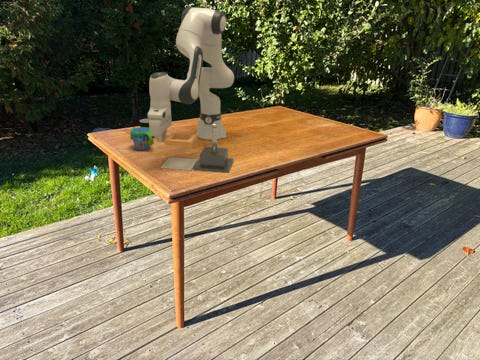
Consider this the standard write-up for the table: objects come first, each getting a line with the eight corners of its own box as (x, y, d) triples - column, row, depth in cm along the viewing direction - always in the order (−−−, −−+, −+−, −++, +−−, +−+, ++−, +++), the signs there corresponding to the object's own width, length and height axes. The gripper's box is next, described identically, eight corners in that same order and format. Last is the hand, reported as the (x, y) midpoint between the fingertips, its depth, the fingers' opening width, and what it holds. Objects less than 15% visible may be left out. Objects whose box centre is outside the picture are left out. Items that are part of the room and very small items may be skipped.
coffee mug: (158, 136, 214) (157, 119, 210) (153, 140, 207) (152, 123, 203) (138, 135, 215) (137, 118, 211) (133, 139, 207) (132, 121, 204)
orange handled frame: (162, 137, 176) (162, 132, 175) (197, 139, 175) (197, 134, 174) (153, 144, 165) (153, 139, 164) (191, 147, 164) (191, 141, 163)
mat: (169, 158, 181) (169, 157, 181) (197, 160, 180) (197, 159, 180) (160, 168, 168) (160, 167, 168) (190, 170, 167) (190, 169, 167)
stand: (201, 158, 182) (201, 118, 175) (233, 160, 181) (234, 120, 173) (193, 170, 168) (192, 127, 160) (228, 172, 166) (229, 129, 158)
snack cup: (125, 147, 194) (123, 128, 190) (142, 143, 201) (141, 124, 197) (142, 154, 185) (140, 134, 181) (159, 150, 192) (158, 131, 188)
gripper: (161, 105, 175) (162, 133, 180) (145, 115, 156) (148, 146, 162) (174, 106, 174) (175, 134, 180) (160, 116, 156) (162, 147, 161)
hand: (162, 140), depth 171 cm, fingers closed on orange handled frame, 3 cm apart
